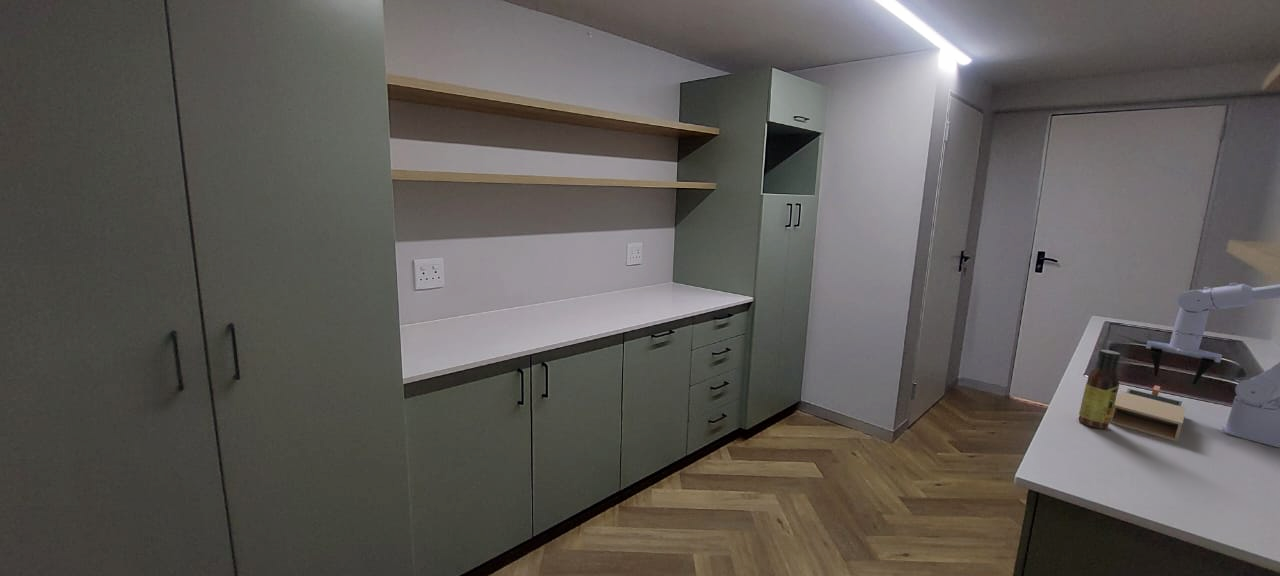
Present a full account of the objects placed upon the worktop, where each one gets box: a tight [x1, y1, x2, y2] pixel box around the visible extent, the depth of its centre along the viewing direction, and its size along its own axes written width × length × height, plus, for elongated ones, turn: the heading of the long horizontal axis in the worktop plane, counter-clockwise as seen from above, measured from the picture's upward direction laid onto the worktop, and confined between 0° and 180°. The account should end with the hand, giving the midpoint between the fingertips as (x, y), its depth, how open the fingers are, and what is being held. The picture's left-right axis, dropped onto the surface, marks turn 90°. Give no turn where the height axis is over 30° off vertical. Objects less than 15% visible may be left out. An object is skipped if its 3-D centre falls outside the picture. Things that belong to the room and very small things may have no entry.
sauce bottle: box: [1078, 349, 1121, 429], centre depth 135 cm, size 6×6×20 cm
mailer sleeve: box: [1109, 391, 1187, 443], centre depth 138 cm, size 15×13×5 cm
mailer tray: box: [1119, 385, 1183, 427], centre depth 146 cm, size 20×11×4 cm, turn 132°
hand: (1174, 379), depth 147 cm, fingers open, 7 cm apart
